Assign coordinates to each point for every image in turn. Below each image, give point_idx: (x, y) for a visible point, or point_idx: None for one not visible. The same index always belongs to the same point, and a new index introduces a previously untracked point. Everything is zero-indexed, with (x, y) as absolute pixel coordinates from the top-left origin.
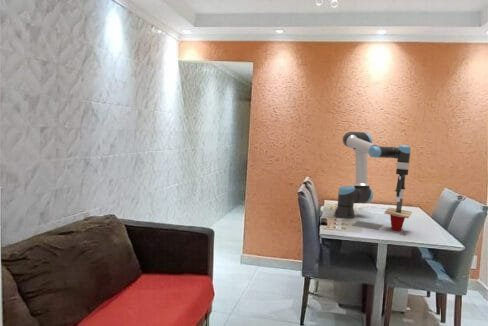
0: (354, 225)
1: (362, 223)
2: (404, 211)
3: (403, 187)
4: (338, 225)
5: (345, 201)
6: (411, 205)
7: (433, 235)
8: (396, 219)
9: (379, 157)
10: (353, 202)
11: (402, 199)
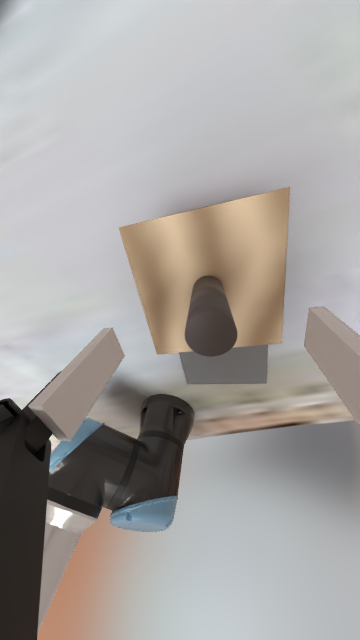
0: (260, 377)
1: (210, 369)
2: (159, 267)
3: (15, 448)
4: (283, 403)
5: (178, 463)
6: None
7: (141, 74)
8: None
9: None
10: (150, 446)
11: (217, 312)
